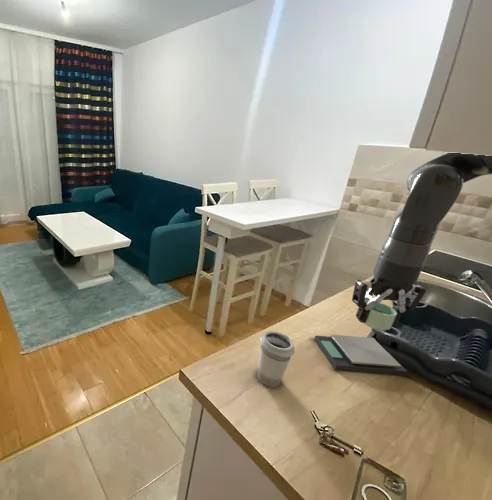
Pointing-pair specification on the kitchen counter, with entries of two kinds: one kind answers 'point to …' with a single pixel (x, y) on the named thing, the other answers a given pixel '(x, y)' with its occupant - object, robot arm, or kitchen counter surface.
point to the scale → (343, 364)
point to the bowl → (381, 317)
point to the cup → (274, 357)
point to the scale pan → (364, 351)
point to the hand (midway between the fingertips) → (375, 321)
